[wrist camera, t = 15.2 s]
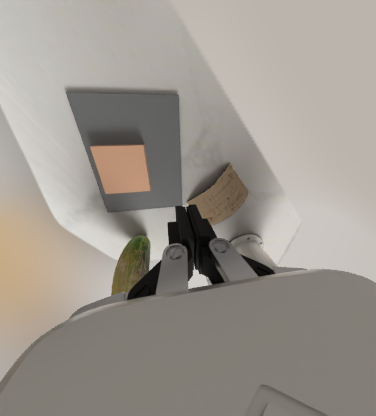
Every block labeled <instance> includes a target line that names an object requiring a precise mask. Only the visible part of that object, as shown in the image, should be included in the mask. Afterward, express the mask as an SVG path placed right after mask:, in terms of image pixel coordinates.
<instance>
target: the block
mask: <svg viewBox="0 0 376 416" xmlns="http://www.w3.org/2000/svg"><path fill="white" fill-rule="evenodd" d="M90 148H91V152H92V155H93V158H94V161H95V164H96V167H97V170H98V173H99V176H100V179H101V182H102V185H103V188H104V191H105V194H114V193H128V192H142V191H150V190H151V183H150V176H149V170H148V163H147V156H146V150H145V144H121V145H94V146H90Z"/></svg>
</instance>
